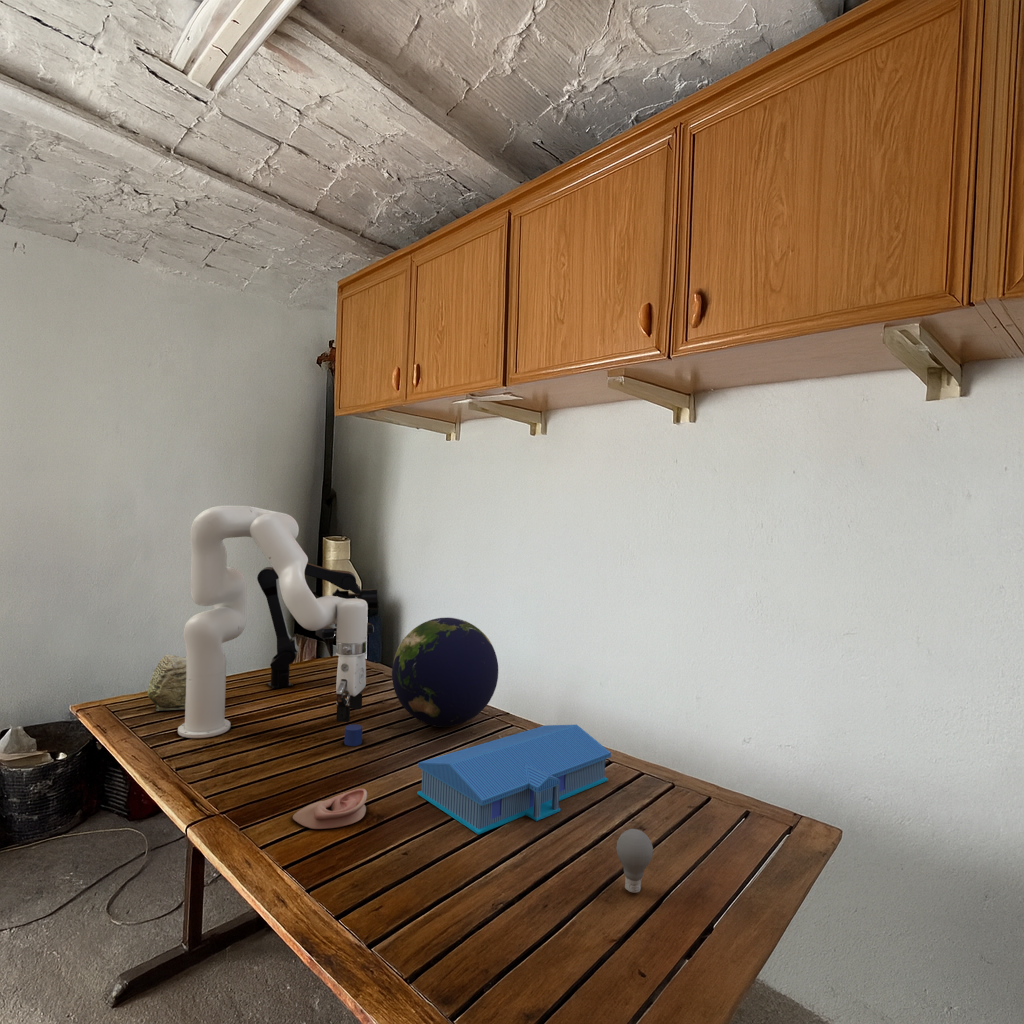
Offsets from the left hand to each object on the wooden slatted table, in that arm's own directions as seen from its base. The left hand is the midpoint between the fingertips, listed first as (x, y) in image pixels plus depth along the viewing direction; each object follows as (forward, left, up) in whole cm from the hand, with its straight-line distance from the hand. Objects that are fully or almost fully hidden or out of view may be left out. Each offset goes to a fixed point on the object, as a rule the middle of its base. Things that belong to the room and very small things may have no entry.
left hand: (349, 714), depth 161 cm
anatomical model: (+32, -15, -8) cm, 37 cm away
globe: (-3, +29, -8) cm, 30 cm away
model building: (+41, +25, -8) cm, 49 cm away
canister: (-1, +2, -8) cm, 8 cm away
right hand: (-52, +17, +2) cm, 55 cm away
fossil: (-50, -32, -8) cm, 60 cm away
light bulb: (+81, +20, -8) cm, 84 cm away
